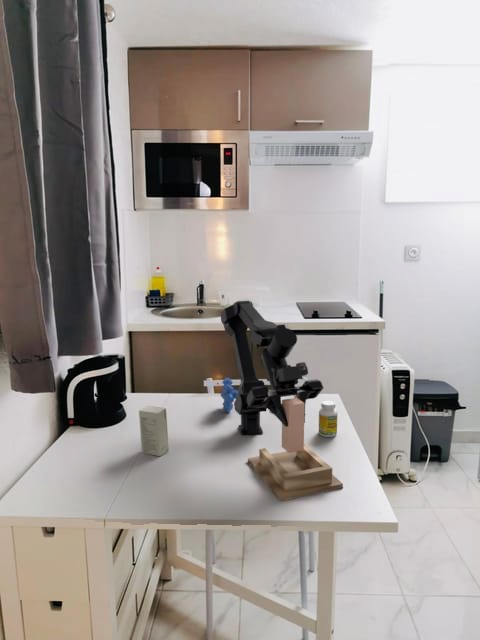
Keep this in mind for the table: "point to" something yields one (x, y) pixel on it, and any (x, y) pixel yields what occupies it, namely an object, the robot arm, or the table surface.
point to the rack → (294, 473)
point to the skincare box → (153, 430)
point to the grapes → (228, 394)
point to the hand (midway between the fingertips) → (295, 424)
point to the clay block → (293, 425)
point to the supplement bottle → (328, 419)
